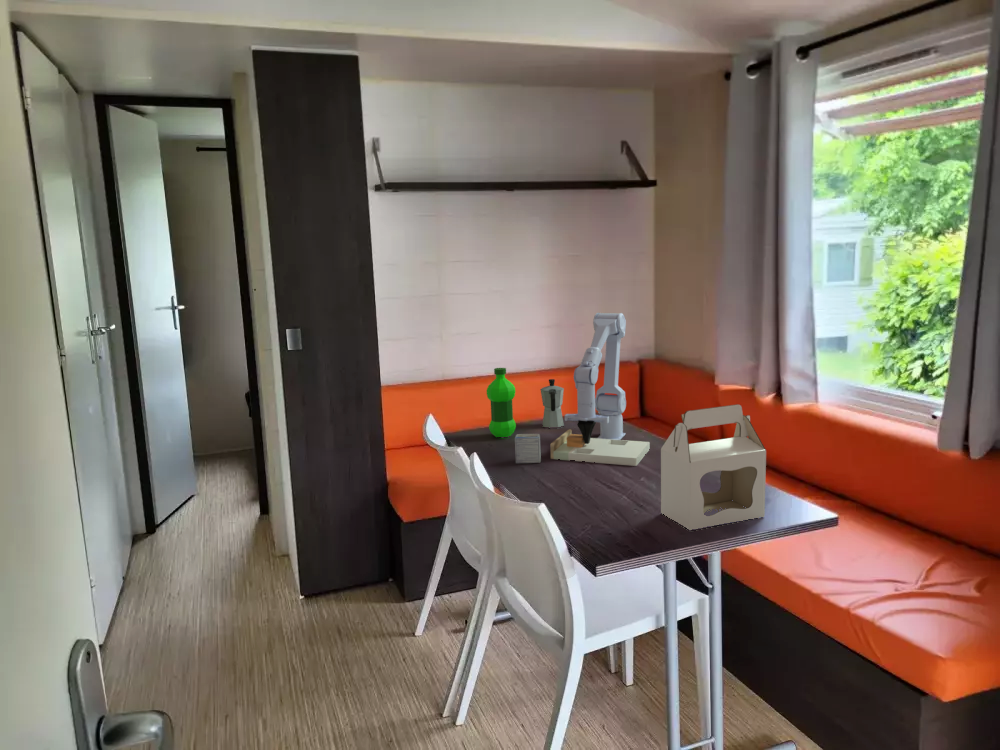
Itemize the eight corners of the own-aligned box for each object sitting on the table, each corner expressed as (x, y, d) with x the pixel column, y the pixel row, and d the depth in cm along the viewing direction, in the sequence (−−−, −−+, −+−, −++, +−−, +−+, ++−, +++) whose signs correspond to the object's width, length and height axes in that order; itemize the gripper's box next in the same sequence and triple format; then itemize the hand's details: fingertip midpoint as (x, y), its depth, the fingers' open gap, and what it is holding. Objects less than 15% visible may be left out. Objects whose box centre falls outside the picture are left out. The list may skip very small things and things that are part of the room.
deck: (569, 443, 261) (568, 429, 260) (649, 449, 250) (649, 434, 249) (550, 458, 244) (550, 443, 243) (636, 466, 233) (636, 450, 232)
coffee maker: (541, 422, 292) (539, 376, 289) (563, 421, 292) (562, 375, 288) (542, 432, 277) (540, 384, 274) (566, 431, 277) (564, 383, 274)
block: (571, 442, 252) (571, 433, 252) (585, 443, 251) (585, 434, 250) (567, 446, 248) (566, 437, 248) (581, 447, 246) (581, 438, 246)
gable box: (733, 500, 200) (734, 397, 195) (765, 517, 188) (768, 408, 183) (659, 514, 193) (659, 407, 188) (688, 532, 181) (689, 418, 175)
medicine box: (541, 459, 244) (540, 433, 242) (540, 463, 240) (539, 437, 238) (516, 459, 245) (515, 433, 243) (515, 463, 240) (514, 437, 239)
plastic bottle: (487, 440, 269) (484, 371, 264) (491, 432, 279) (488, 366, 275) (515, 440, 268) (512, 371, 263) (518, 432, 278) (515, 365, 273)
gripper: (561, 404, 245) (562, 444, 247) (604, 406, 239) (605, 447, 242) (567, 399, 251) (568, 439, 254) (610, 401, 245) (611, 442, 248)
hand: (587, 443), depth 248 cm, fingers closed
